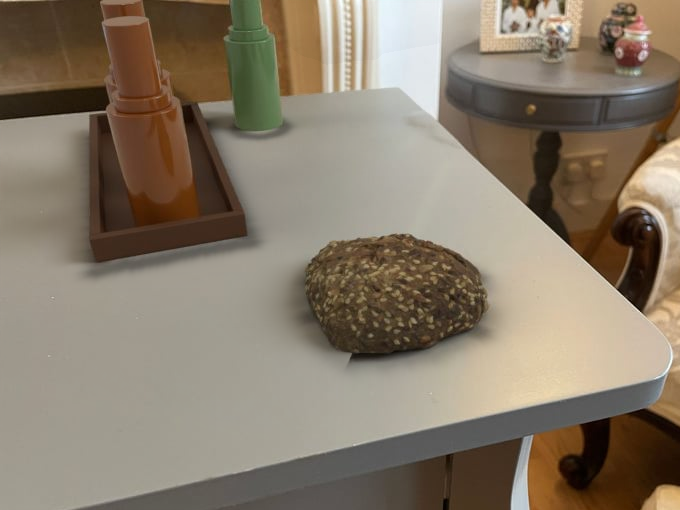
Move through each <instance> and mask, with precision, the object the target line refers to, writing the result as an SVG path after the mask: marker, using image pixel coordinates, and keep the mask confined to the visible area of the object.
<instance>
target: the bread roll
mask: <svg viewBox="0 0 680 510" xmlns="http://www.w3.org/2000/svg"><path fill="white" fill-rule="evenodd" d="M304 269H305V285H304V291H305V293H306V297H307V299H308V303H309V306H310V309H311V310H312V312H313V314H314V316H315V318H316V319H317V320H318V321H319V323H320V326H321V327H322V331H323V332H324V334H325V335H326V337H327V339H328V341H329V342H330V343H331V345H333V346H334V347H335V348H336V349H338V350H339V351H342V352H351V353H352V354H362V353H364V354H365V353H366V354H387V355H388V354H389V355H390V354H392V353H393V352H394V351H409V350H425V349H427V348H431V347H434V346H436V345H437V344H438V343H439V342H440V341H441V340H442V339H443V340H444V339H446V338H448V337H451V336H454V335H456V334H459V333H463V332H467V331H471V330H473V329H474V328H475V327H476V326H477V325H478V324H479V323H480V322H481V321H482V319H483V317H484V316H485V314H486V313H487V311H488V309H489V307H490V303H489V301H488V300H487V299H488V296H489V295H488V292H487V290H486V288H485V287H484V286H483V283H482V280H483V279H482V274H481V273H480V270H479V268H478V267H477V266H475V265H474V264H473V263H472V261H470V260H469V259H466V258H465V257H464V256H462V255H461V254H460V253H459V252H457V251H455V250H453V249H450V248H448V247H445V246H443V245H442V244H437V243H434V242H433V241H431V240H425V239H420V238H417V237H415V236H414V235H413V234H410V233H397V232H396V233H391V234H389V235H381V236H379V237H378V236H369V237H357V238H355V239H347V240H345V239H341V240H330V241H329V242H328V243H327V244H326V246H325V247H323V248H320V250H319V251H318V254H315V255H314V257H312V258H311V262H310V263H307V265H306V267H305V268H304Z"/></svg>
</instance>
